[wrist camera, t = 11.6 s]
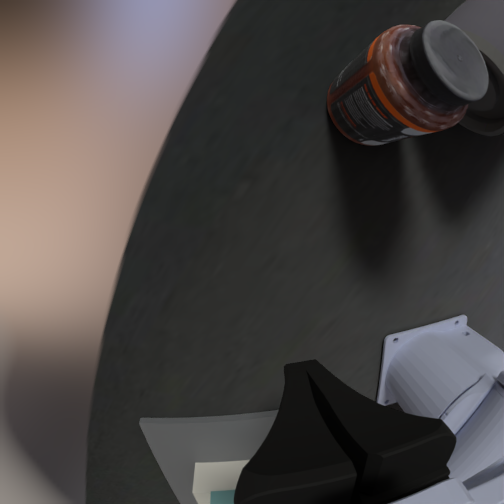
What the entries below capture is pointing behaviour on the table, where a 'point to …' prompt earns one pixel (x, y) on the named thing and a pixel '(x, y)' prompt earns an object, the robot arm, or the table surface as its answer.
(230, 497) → the top brick
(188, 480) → the baseplate
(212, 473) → the base brick
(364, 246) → the table surface
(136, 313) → the table surface
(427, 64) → the supplement bottle
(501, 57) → the bluetooth speaker
